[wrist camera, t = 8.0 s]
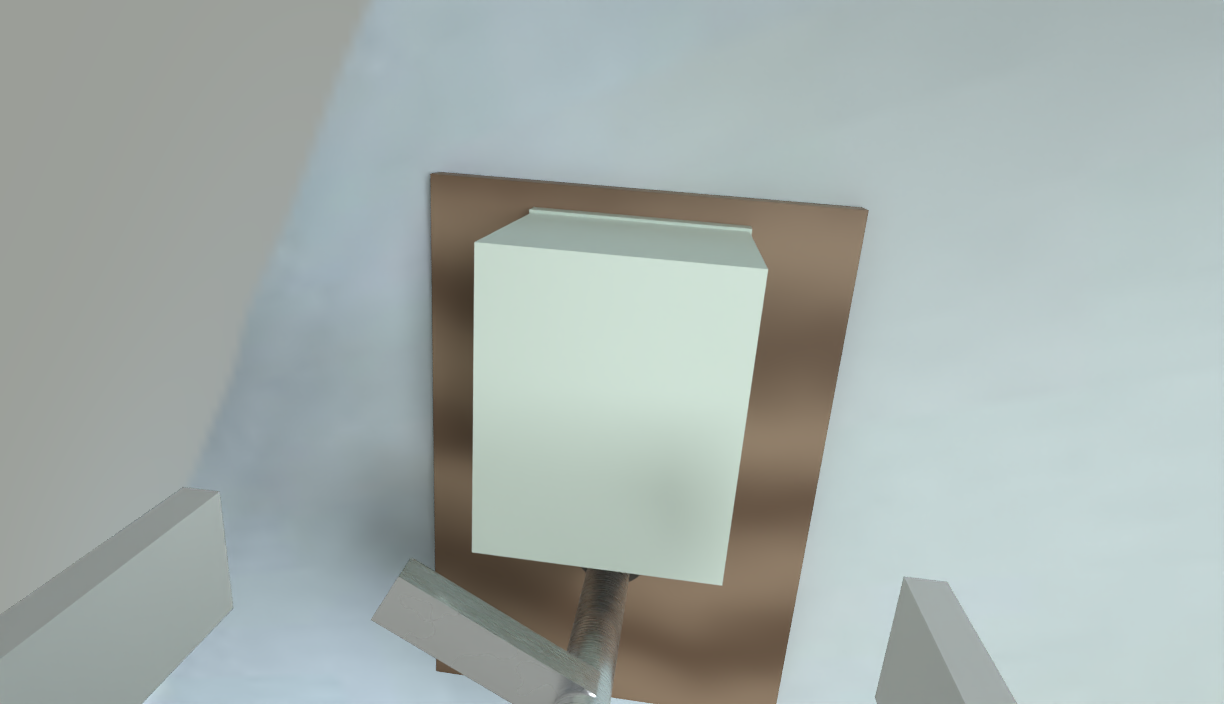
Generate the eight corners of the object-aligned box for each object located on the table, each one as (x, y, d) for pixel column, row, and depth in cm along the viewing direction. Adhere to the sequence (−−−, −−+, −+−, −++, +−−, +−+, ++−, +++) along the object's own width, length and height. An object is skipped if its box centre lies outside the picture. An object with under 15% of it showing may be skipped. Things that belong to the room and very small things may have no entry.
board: (439, 172, 28) (424, 174, 26) (862, 207, 26) (872, 212, 25) (443, 656, 35) (431, 680, 34) (770, 704, 34) (774, 731, 32)
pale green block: (535, 206, 27) (470, 238, 19) (750, 225, 26) (772, 265, 18) (526, 445, 30) (468, 554, 22) (717, 468, 29) (725, 588, 21)
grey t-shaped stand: (454, 493, 30) (201, 875, 15) (487, 442, 29) (253, 794, 14) (687, 637, 31) (677, 1138, 16) (726, 592, 30) (757, 1078, 15)
